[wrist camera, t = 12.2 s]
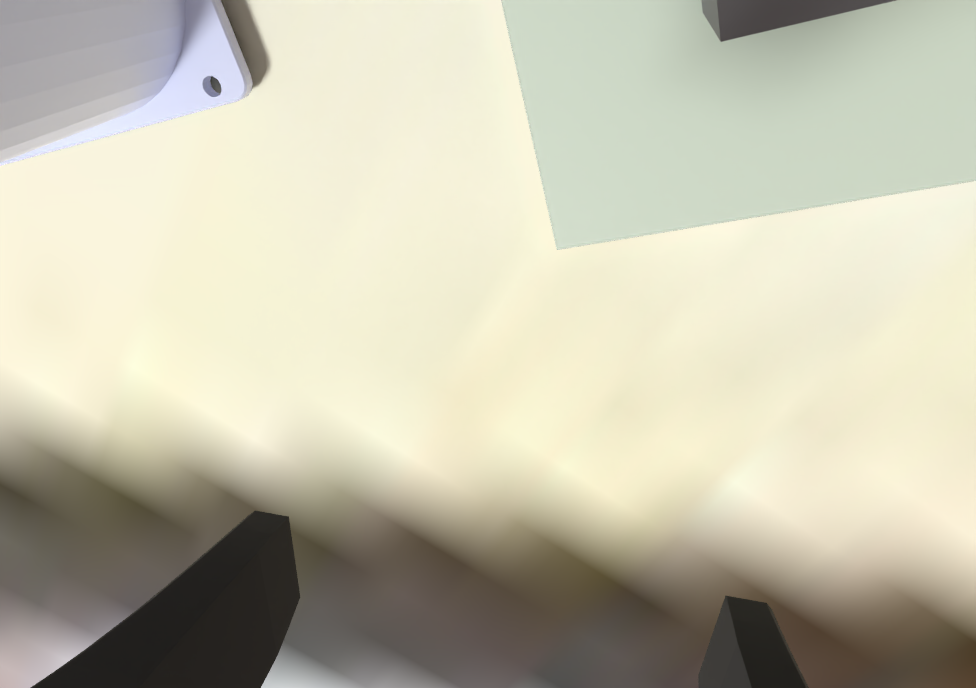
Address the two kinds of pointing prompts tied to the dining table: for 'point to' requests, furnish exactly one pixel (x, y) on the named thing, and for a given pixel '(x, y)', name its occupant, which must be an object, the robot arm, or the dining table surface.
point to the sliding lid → (739, 106)
